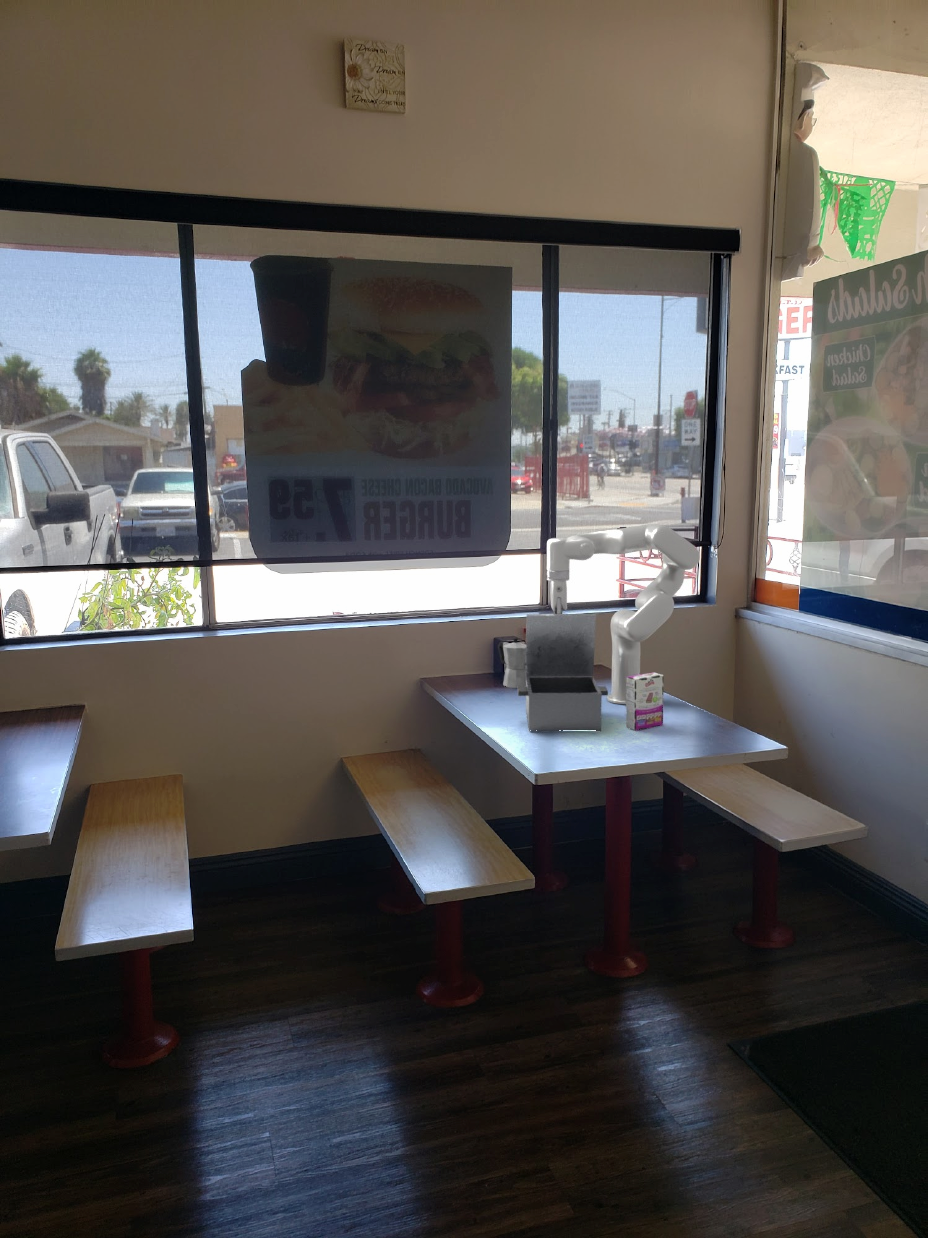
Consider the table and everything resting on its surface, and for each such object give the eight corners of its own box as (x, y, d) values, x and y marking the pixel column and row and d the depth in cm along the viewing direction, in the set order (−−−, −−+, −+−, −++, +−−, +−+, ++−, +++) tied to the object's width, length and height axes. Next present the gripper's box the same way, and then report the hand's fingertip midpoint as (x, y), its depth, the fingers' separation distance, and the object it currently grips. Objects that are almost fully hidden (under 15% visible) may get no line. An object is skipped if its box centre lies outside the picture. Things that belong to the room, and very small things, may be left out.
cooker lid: (593, 676, 295) (592, 671, 298) (596, 615, 286) (594, 611, 289) (525, 676, 295) (525, 672, 298) (526, 615, 286) (526, 611, 289)
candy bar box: (653, 722, 284) (654, 671, 282) (663, 726, 280) (664, 674, 277) (624, 727, 279) (625, 675, 277) (634, 731, 275) (635, 679, 272)
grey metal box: (601, 712, 297) (602, 676, 295) (610, 731, 275) (611, 693, 273) (516, 712, 298) (516, 677, 296) (519, 731, 276) (519, 693, 274)
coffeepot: (537, 686, 333) (537, 638, 330) (520, 690, 326) (520, 642, 323) (506, 679, 344) (506, 633, 341) (489, 683, 337) (489, 636, 334)
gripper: (571, 578, 291) (570, 633, 294) (567, 572, 306) (566, 625, 309) (548, 578, 291) (547, 634, 294) (545, 572, 306) (545, 626, 309)
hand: (557, 629), depth 301 cm, fingers closed
